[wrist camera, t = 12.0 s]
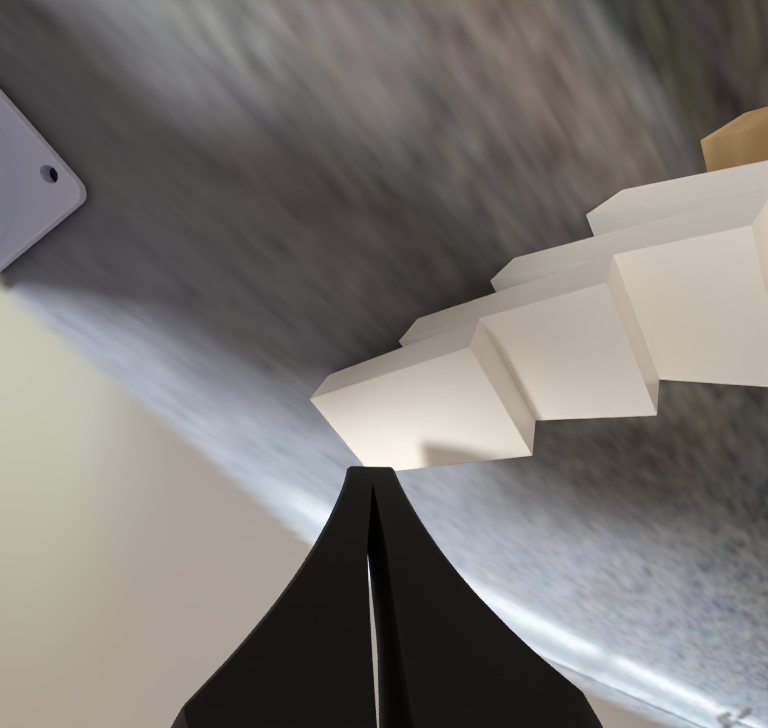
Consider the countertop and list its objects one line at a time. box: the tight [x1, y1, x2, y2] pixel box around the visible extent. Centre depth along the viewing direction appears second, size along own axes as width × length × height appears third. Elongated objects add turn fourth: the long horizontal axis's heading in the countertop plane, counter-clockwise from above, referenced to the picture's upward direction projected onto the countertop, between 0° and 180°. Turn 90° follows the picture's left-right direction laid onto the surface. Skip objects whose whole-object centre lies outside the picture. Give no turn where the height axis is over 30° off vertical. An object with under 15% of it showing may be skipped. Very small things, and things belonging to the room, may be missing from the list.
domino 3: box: [586, 160, 768, 237], centre depth 11 cm, size 4×2×7 cm, turn 33°
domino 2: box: [399, 254, 659, 420], centre depth 12 cm, size 4×2×7 cm
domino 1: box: [310, 319, 535, 471], centre depth 13 cm, size 4×2×7 cm
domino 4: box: [491, 191, 768, 387], centre depth 11 cm, size 4×2×7 cm
